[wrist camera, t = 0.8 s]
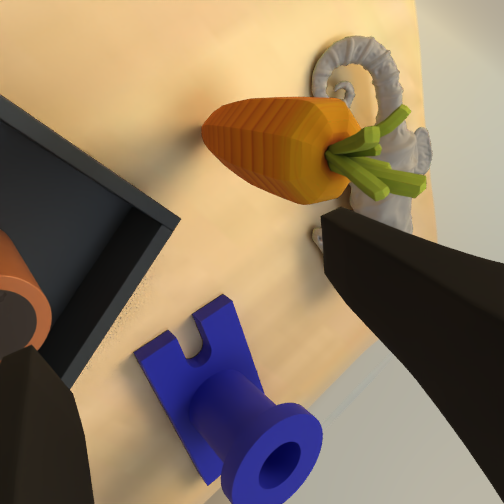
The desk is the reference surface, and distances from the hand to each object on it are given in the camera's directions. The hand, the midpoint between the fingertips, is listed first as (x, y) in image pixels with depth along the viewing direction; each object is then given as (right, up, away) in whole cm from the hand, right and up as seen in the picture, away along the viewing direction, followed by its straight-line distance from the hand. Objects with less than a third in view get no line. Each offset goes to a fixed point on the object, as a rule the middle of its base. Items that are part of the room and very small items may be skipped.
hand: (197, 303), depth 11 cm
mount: (-2, -10, +25) cm, 27 cm away
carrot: (-2, +9, +17) cm, 19 cm away
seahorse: (+9, +8, +26) cm, 28 cm away
